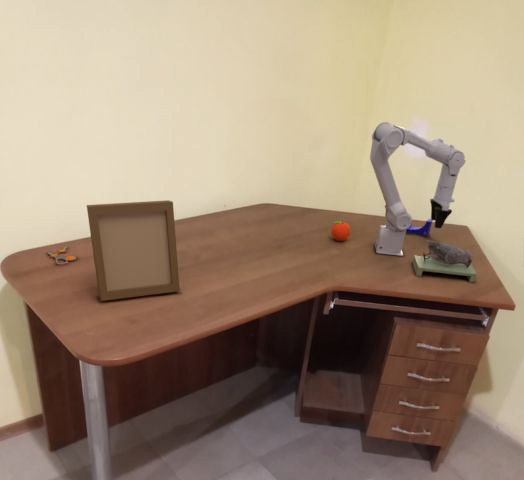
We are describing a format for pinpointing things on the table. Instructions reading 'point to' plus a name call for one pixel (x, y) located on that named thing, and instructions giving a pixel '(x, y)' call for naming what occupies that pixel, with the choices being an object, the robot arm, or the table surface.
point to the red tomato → (340, 231)
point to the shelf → (442, 267)
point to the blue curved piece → (420, 229)
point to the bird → (448, 254)
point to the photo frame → (134, 248)
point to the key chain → (62, 257)
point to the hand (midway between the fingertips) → (435, 223)
